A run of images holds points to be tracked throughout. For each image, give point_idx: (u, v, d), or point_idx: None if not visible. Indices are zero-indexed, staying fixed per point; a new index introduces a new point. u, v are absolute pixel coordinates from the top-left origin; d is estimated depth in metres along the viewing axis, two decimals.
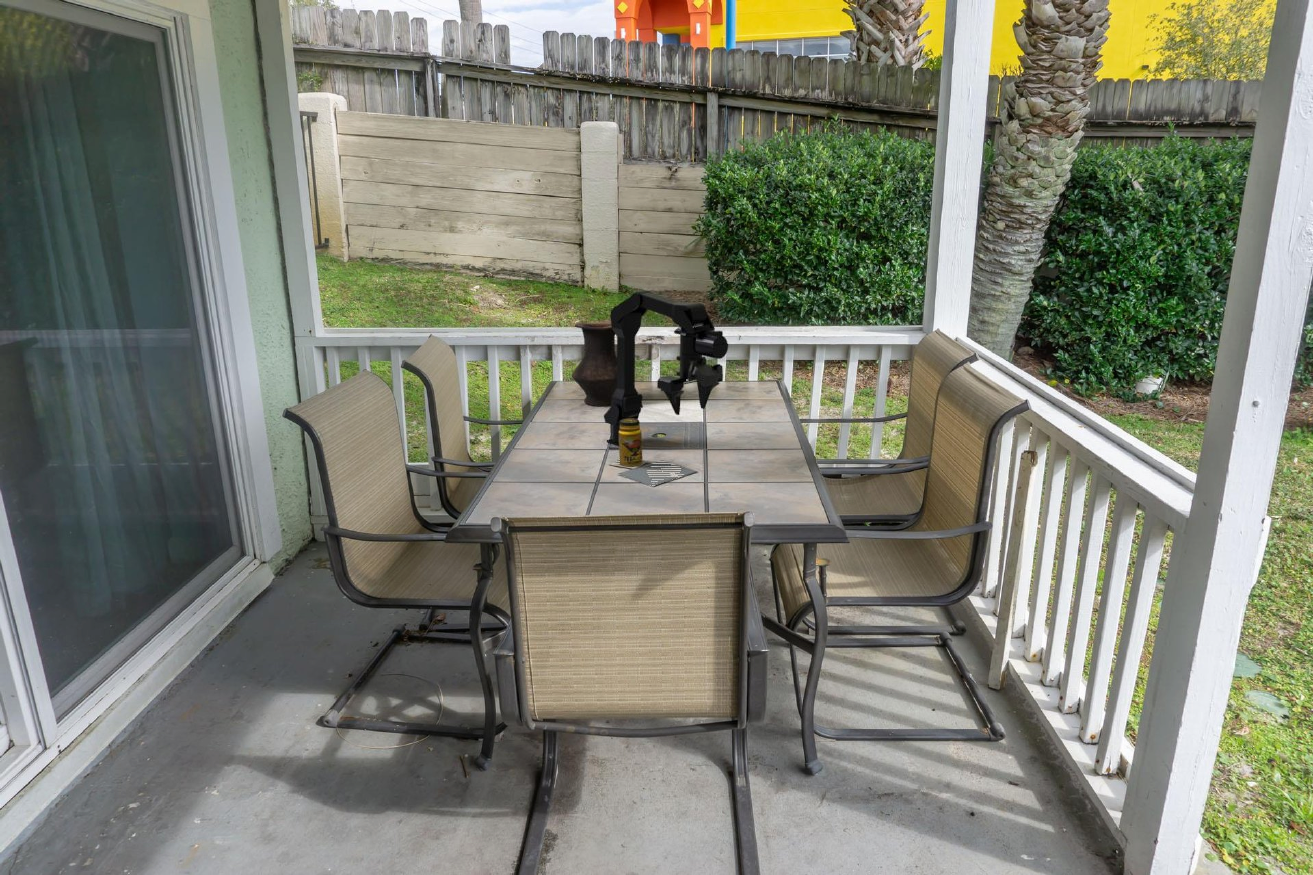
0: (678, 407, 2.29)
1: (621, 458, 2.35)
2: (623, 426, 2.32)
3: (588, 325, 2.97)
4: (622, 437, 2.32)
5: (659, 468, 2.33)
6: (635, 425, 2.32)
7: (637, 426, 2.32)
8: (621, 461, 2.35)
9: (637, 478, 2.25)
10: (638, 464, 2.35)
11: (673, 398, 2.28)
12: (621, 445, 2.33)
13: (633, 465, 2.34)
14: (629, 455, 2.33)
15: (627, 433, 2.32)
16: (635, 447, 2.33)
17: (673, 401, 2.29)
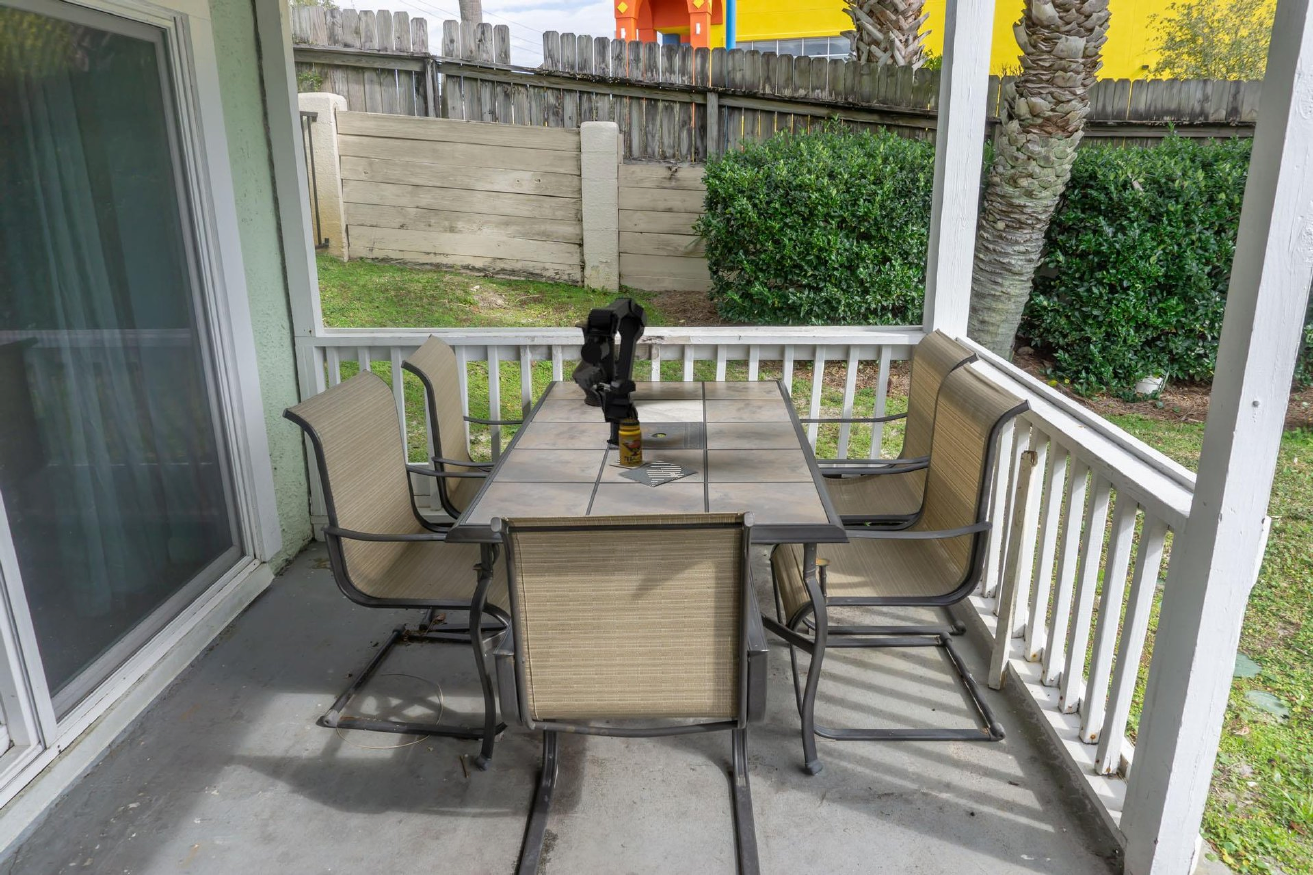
0: (601, 405, 2.39)
1: (621, 458, 2.35)
2: (623, 426, 2.32)
3: None
4: (622, 437, 2.32)
5: (659, 468, 2.33)
6: (635, 425, 2.32)
7: (637, 426, 2.32)
8: (621, 461, 2.35)
9: (637, 478, 2.25)
10: (638, 464, 2.35)
11: None
12: (621, 445, 2.33)
13: (633, 465, 2.34)
14: (629, 455, 2.33)
15: (627, 433, 2.32)
16: (635, 447, 2.33)
17: None
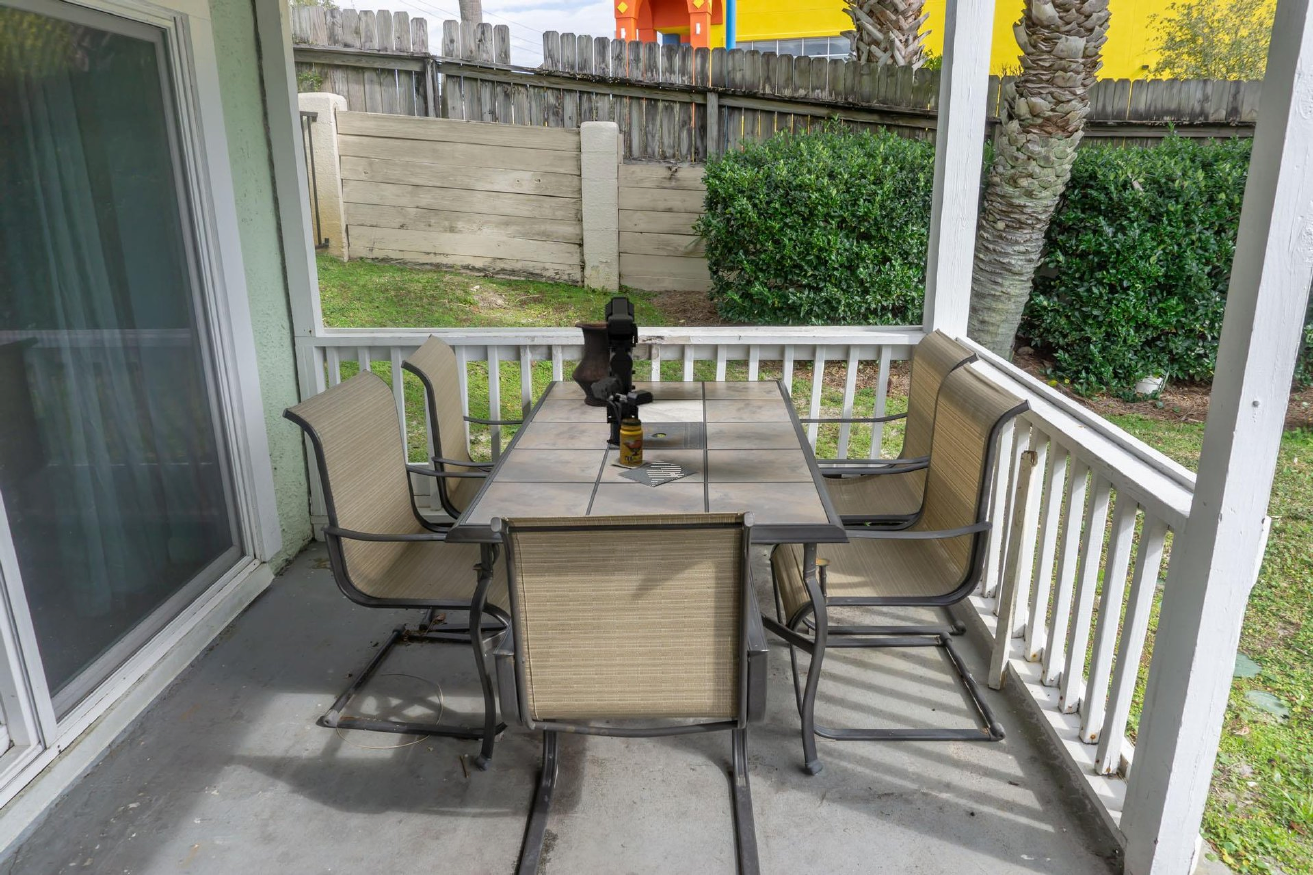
0: (617, 416, 2.35)
1: (621, 457, 2.34)
2: (625, 426, 2.31)
3: (588, 325, 2.97)
4: (623, 437, 2.32)
5: (659, 468, 2.33)
6: (637, 425, 2.31)
7: (639, 426, 2.32)
8: (621, 460, 2.35)
9: (637, 478, 2.25)
10: (638, 464, 2.35)
11: None
12: (622, 444, 2.33)
13: (633, 465, 2.34)
14: (630, 455, 2.33)
15: (628, 433, 2.31)
16: (636, 447, 2.33)
17: None
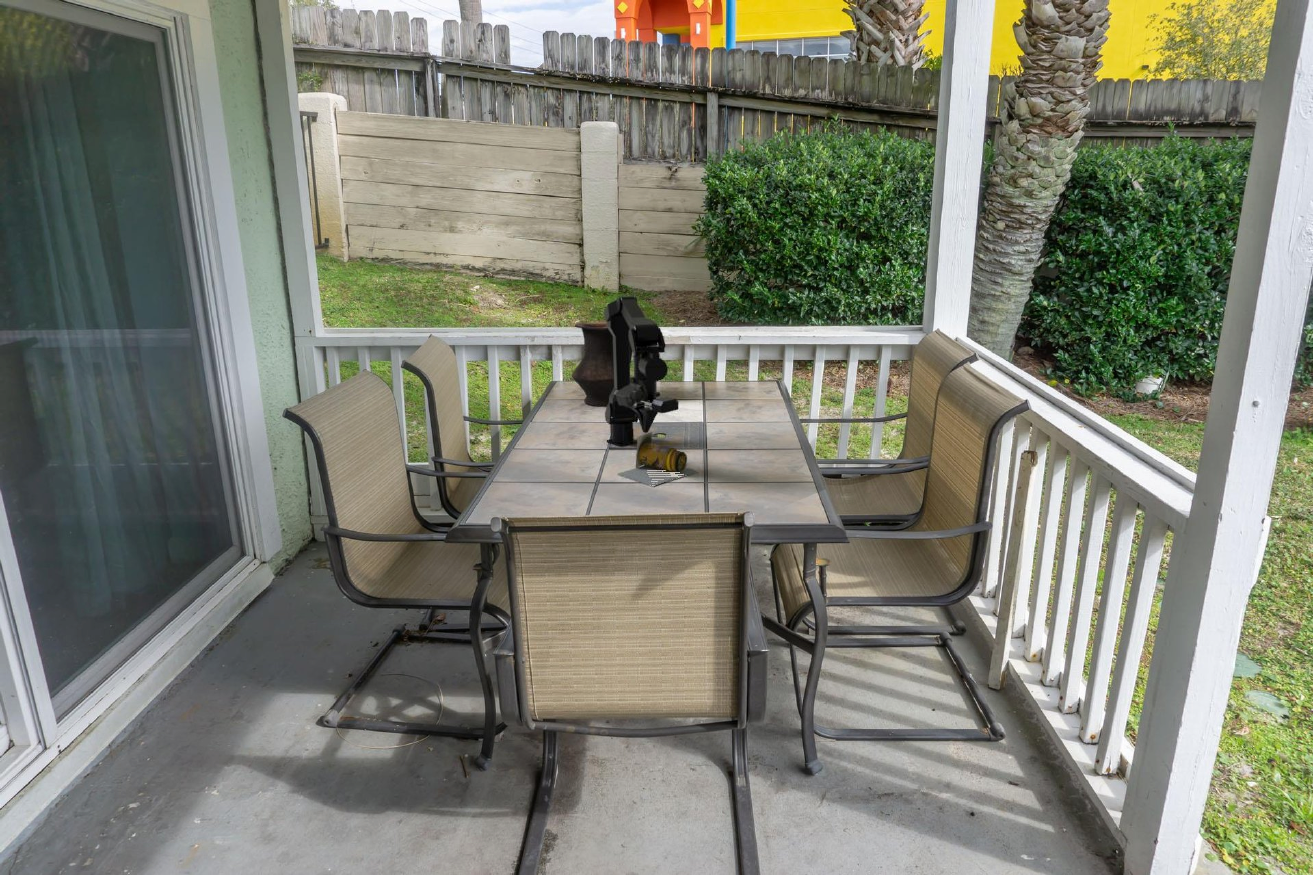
0: (641, 424, 2.29)
1: (644, 452, 2.31)
2: (674, 462, 2.27)
3: (588, 325, 2.97)
4: (663, 459, 2.28)
5: None
6: (677, 471, 2.29)
7: None
8: (642, 451, 2.31)
9: (637, 478, 2.25)
10: (642, 464, 2.34)
11: None
12: (656, 455, 2.29)
13: (639, 462, 2.33)
14: (648, 462, 2.31)
15: (667, 465, 2.28)
16: (656, 467, 2.31)
17: None
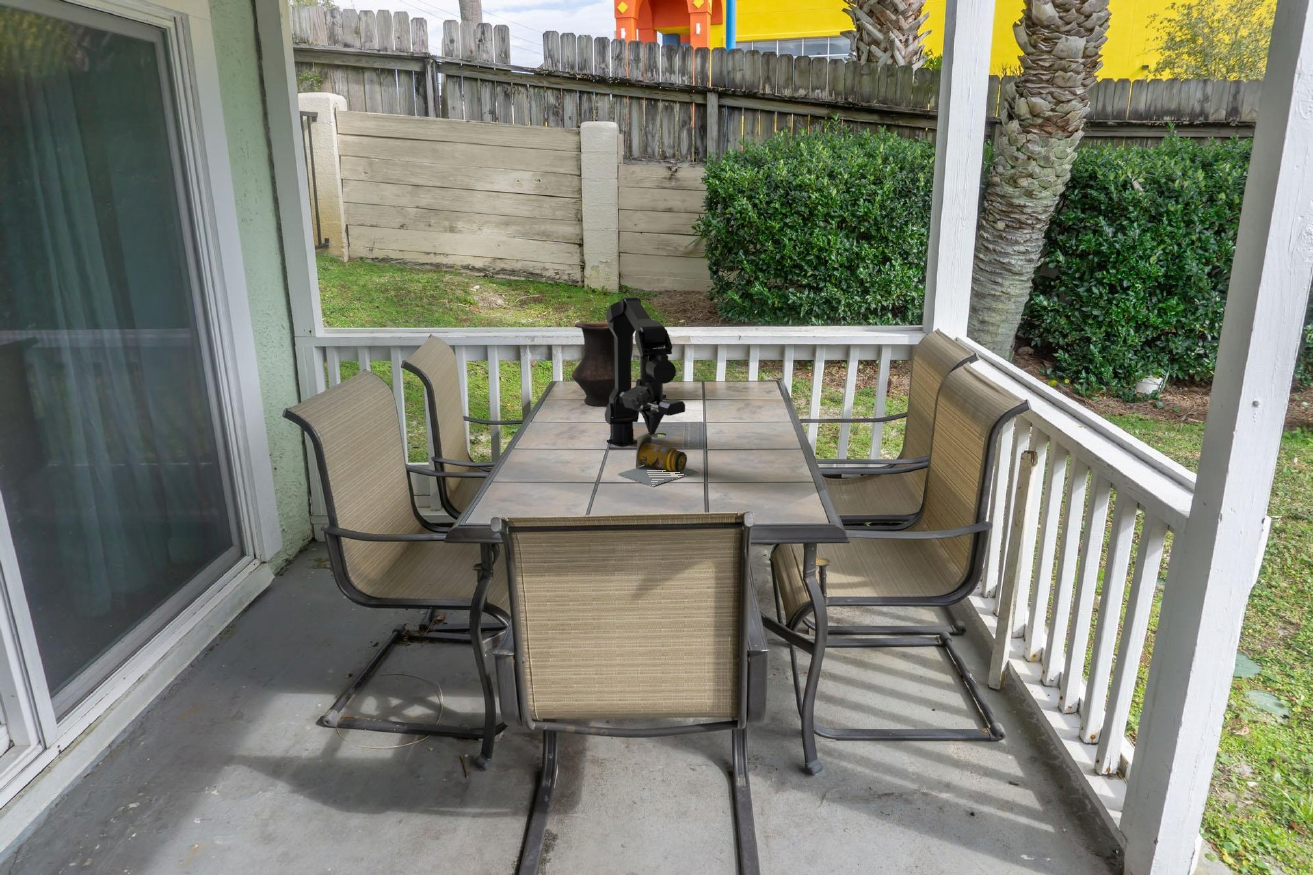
0: (647, 426, 2.27)
1: (644, 452, 2.31)
2: (674, 462, 2.27)
3: (588, 325, 2.97)
4: (663, 459, 2.28)
5: None
6: (677, 471, 2.29)
7: None
8: (642, 451, 2.31)
9: (637, 478, 2.25)
10: (642, 464, 2.34)
11: None
12: (656, 455, 2.29)
13: (639, 462, 2.33)
14: (648, 462, 2.31)
15: (667, 465, 2.28)
16: (656, 467, 2.31)
17: None
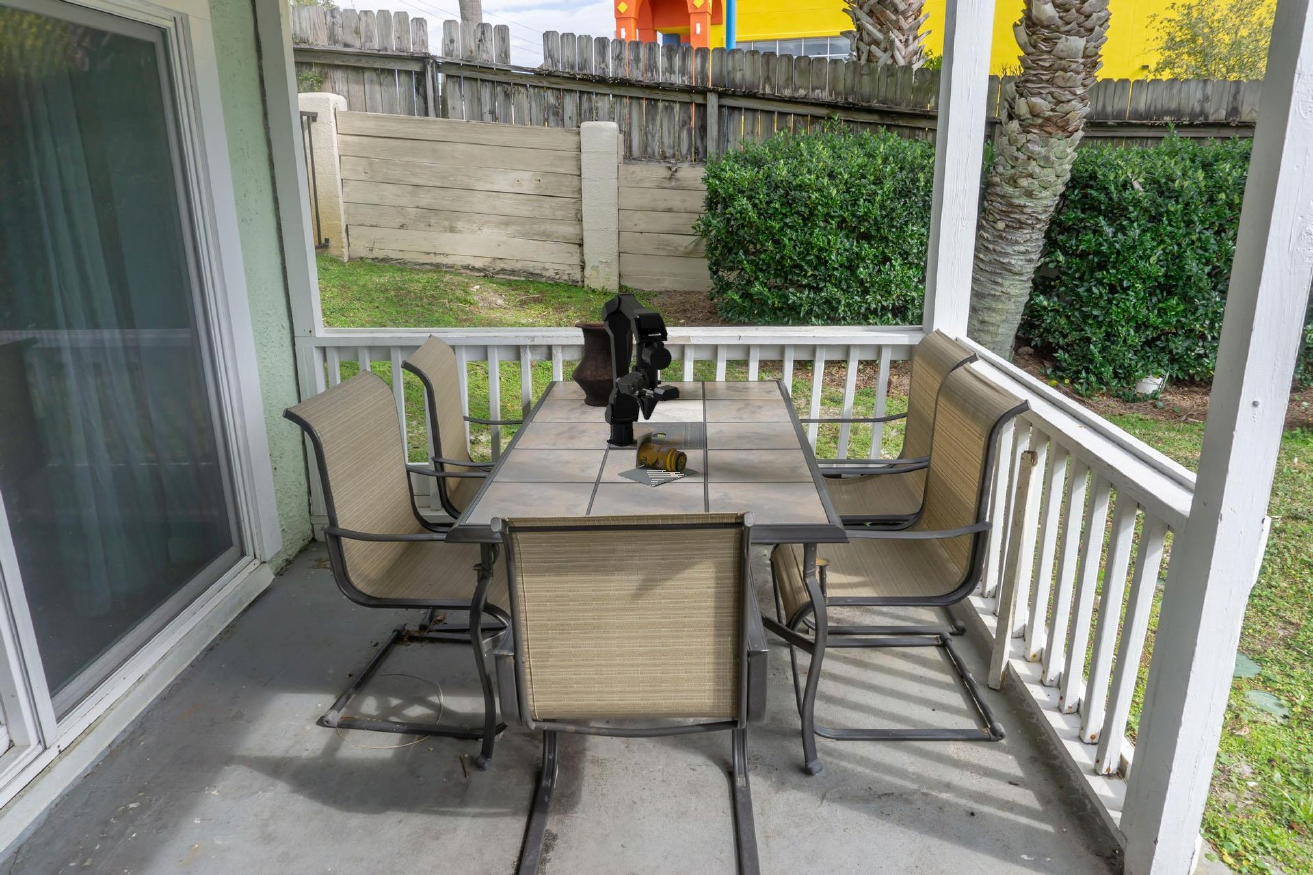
0: (642, 411, 2.32)
1: (644, 452, 2.31)
2: (674, 462, 2.27)
3: (588, 325, 2.97)
4: (663, 459, 2.28)
5: None
6: (677, 471, 2.29)
7: None
8: (642, 451, 2.31)
9: (637, 478, 2.25)
10: (642, 464, 2.34)
11: None
12: (656, 455, 2.29)
13: (639, 462, 2.33)
14: (648, 462, 2.31)
15: (667, 465, 2.28)
16: (656, 467, 2.31)
17: None
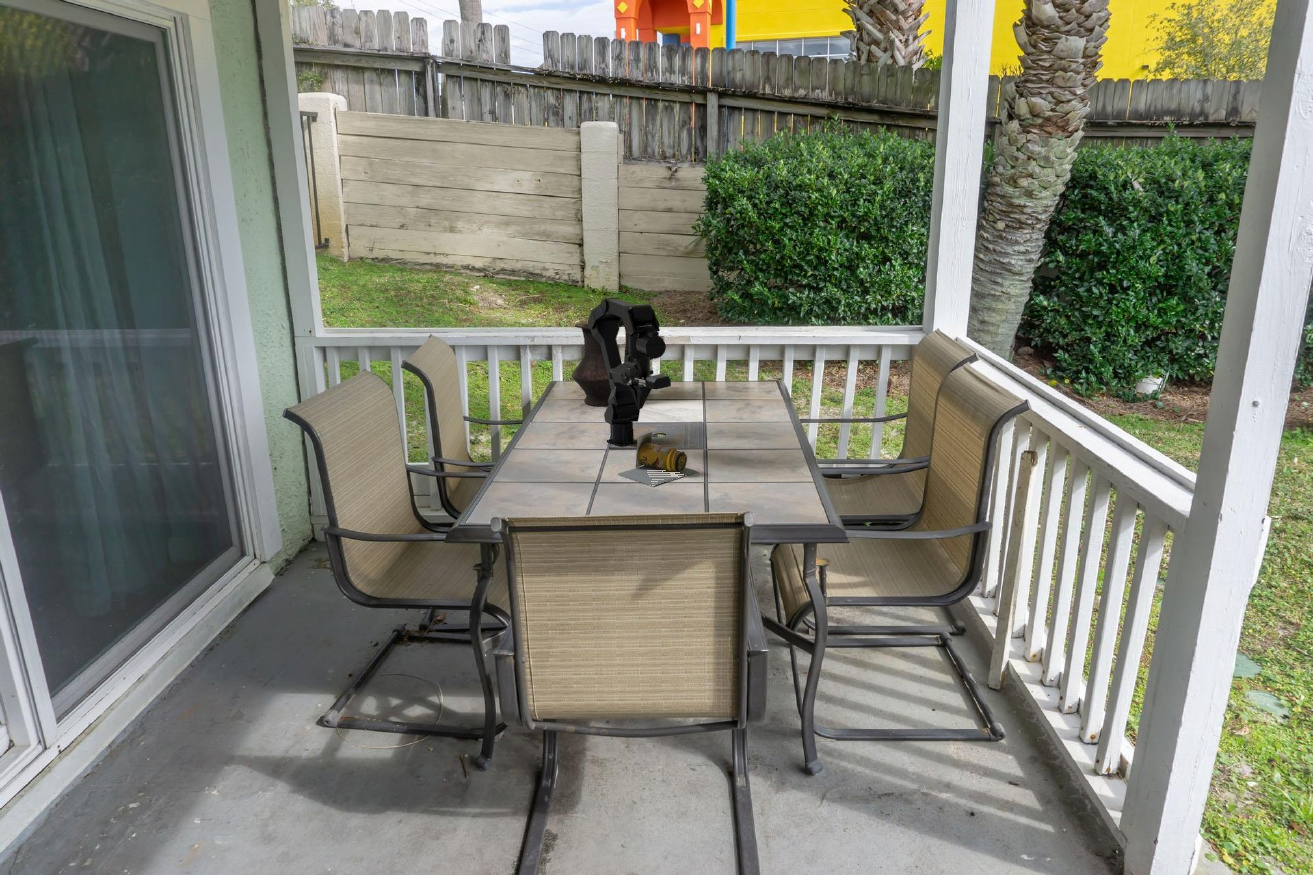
0: (635, 400, 2.41)
1: (644, 452, 2.31)
2: (674, 462, 2.27)
3: None
4: (663, 459, 2.28)
5: None
6: (677, 471, 2.29)
7: None
8: (642, 451, 2.31)
9: (637, 478, 2.25)
10: (642, 464, 2.34)
11: None
12: (656, 455, 2.29)
13: (639, 462, 2.33)
14: (648, 462, 2.31)
15: (667, 465, 2.28)
16: (656, 467, 2.31)
17: None
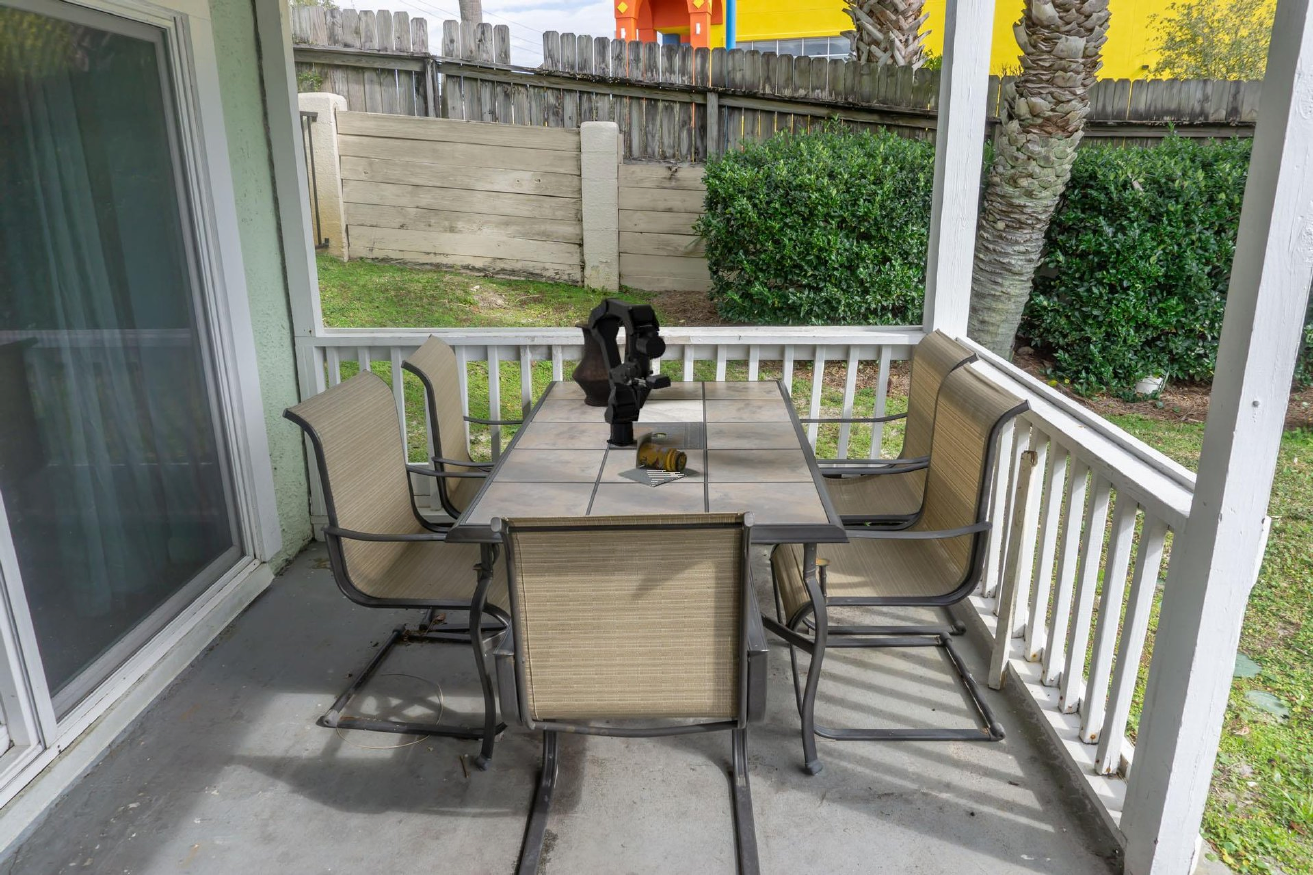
0: (635, 400, 2.41)
1: (644, 452, 2.31)
2: (674, 462, 2.27)
3: None
4: (663, 459, 2.28)
5: None
6: (677, 471, 2.29)
7: None
8: (642, 451, 2.31)
9: (637, 478, 2.25)
10: (642, 464, 2.34)
11: None
12: (656, 455, 2.29)
13: (639, 462, 2.33)
14: (648, 462, 2.31)
15: (667, 465, 2.28)
16: (656, 467, 2.31)
17: None
